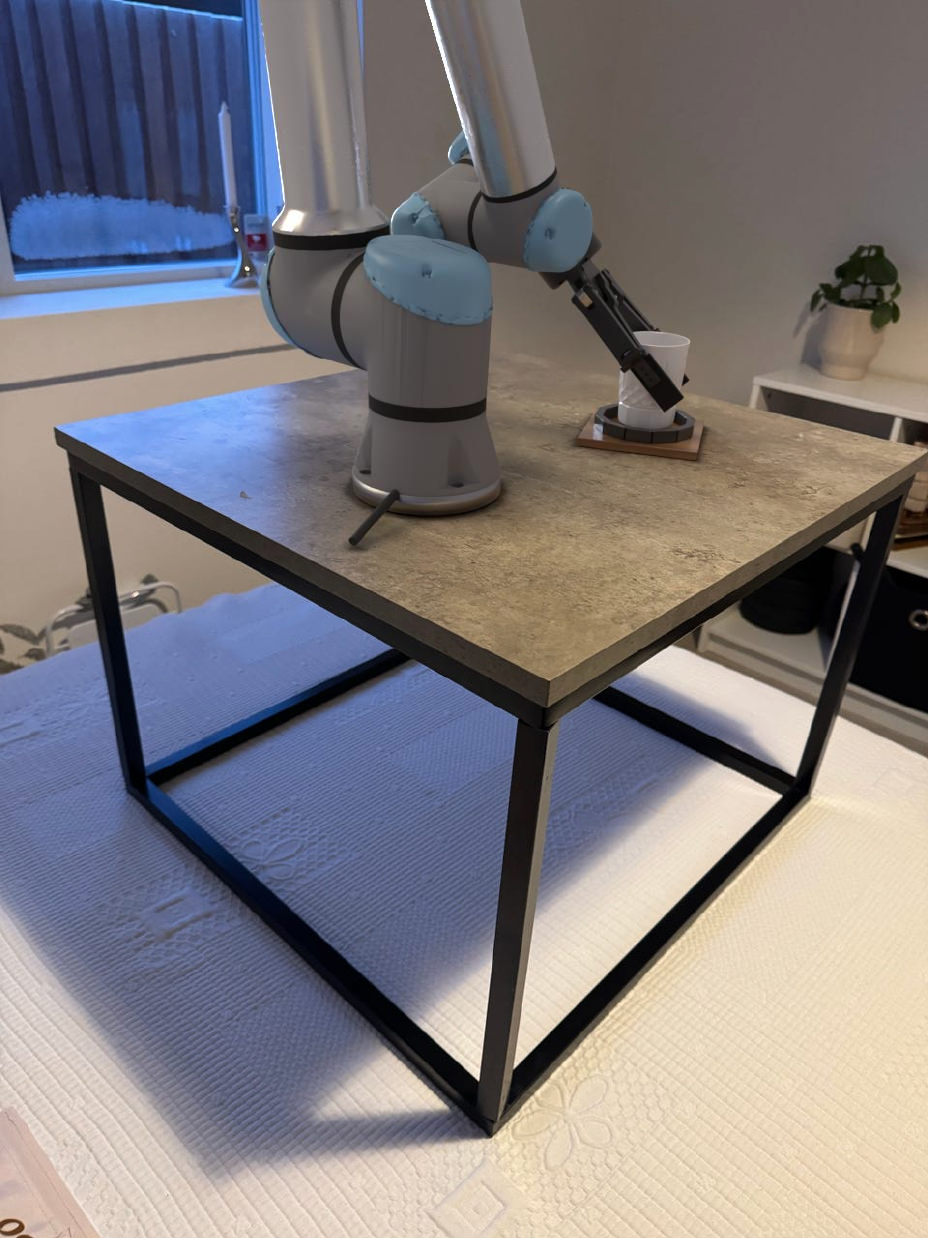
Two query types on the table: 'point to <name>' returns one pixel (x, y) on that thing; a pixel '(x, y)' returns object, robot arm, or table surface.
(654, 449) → the wooden coaster with ring
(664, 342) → the white cup
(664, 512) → the table surface
